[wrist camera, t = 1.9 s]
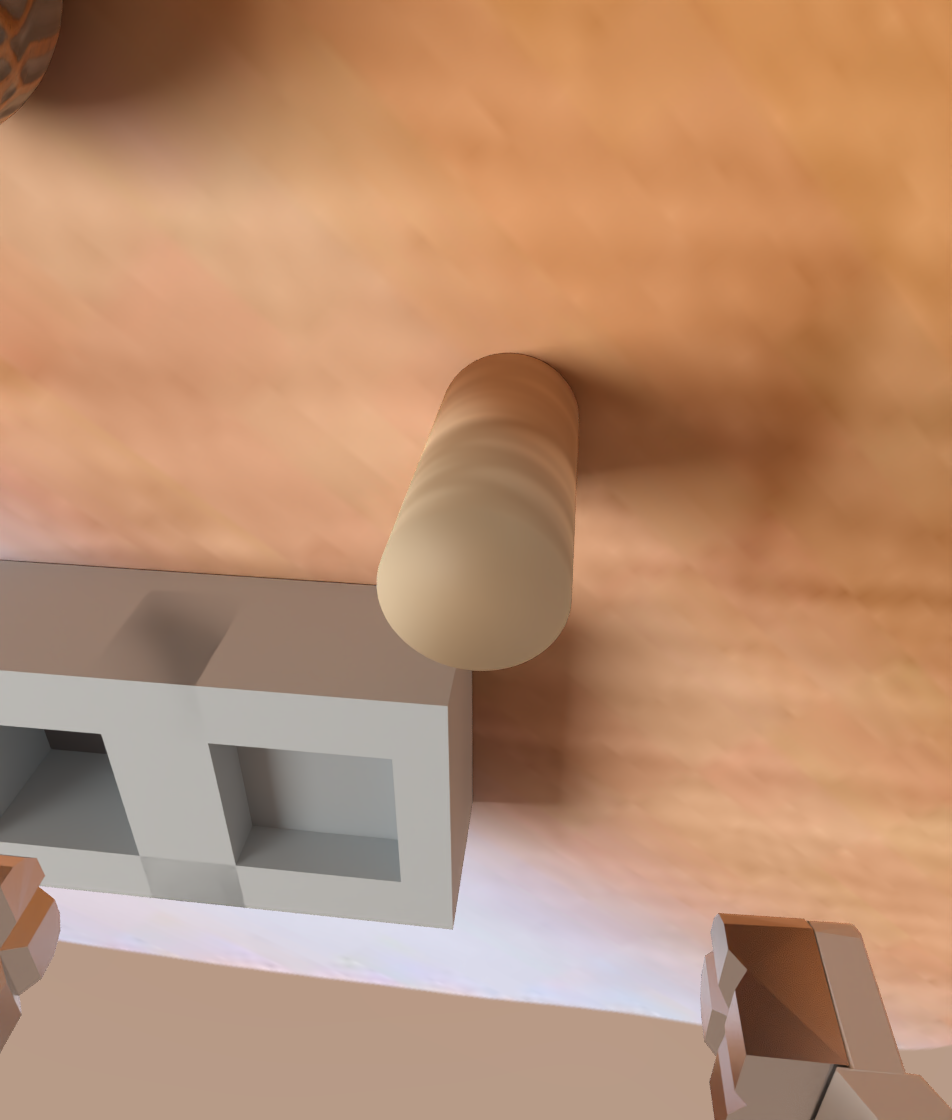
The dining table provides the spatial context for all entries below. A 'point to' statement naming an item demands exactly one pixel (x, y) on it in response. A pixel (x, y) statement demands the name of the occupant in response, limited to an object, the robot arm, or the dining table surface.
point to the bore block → (230, 744)
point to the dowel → (488, 520)
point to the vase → (25, 48)
